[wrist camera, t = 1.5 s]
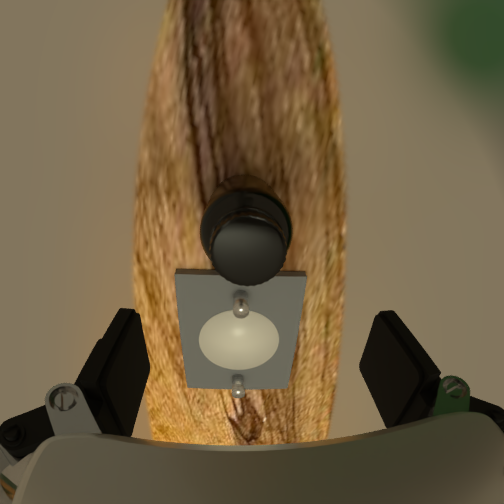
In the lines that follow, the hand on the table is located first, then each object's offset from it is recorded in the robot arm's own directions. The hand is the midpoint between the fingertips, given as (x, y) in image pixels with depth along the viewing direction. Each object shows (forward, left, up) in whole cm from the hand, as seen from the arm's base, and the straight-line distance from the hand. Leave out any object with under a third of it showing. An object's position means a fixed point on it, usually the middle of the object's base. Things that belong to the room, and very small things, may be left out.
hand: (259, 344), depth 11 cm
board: (+16, 0, -20) cm, 25 cm away
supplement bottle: (0, 0, -20) cm, 20 cm away
